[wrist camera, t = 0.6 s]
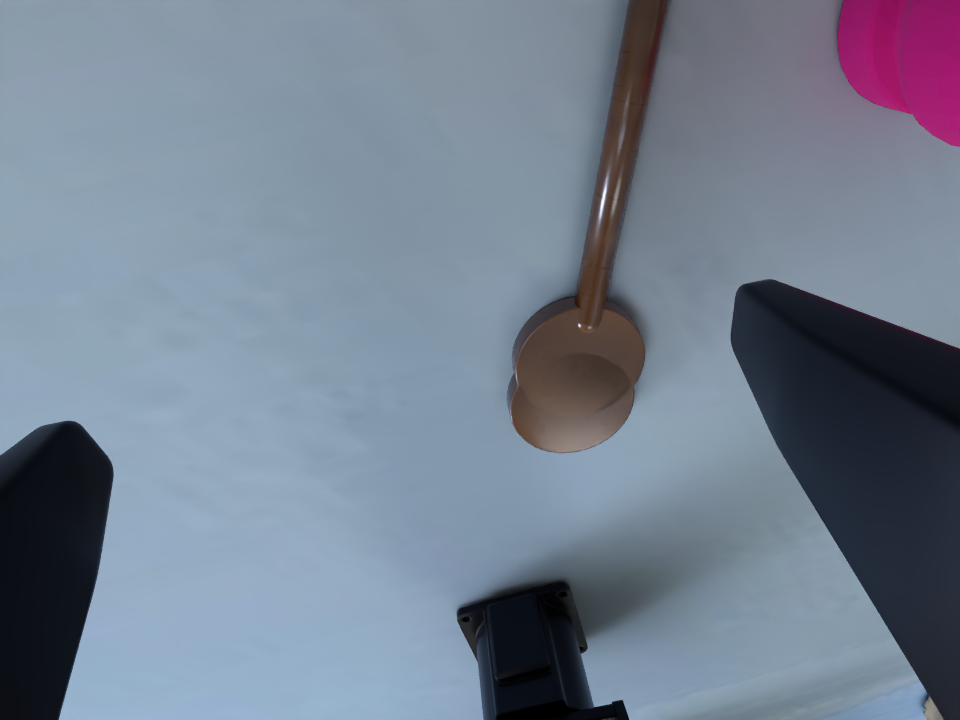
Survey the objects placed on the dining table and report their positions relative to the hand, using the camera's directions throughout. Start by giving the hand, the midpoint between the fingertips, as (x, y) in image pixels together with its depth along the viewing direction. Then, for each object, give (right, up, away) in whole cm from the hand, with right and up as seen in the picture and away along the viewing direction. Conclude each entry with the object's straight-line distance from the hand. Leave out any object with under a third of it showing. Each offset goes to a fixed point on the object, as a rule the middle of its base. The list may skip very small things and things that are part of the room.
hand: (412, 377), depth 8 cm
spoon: (+5, +6, +14) cm, 16 cm away
